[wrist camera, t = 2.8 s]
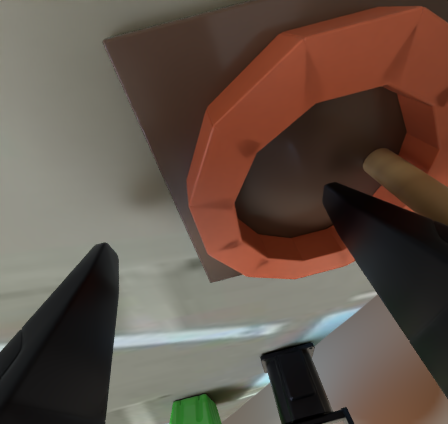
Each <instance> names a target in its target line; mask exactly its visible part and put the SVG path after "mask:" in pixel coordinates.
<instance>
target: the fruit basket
mask: <svg viewBox="0 0 448 424" xmlns="http://www.w3.org/2000/svg"><path fill="white" fill-rule="evenodd" d="M169 424H222V423H221V420H220V417H219V413H218V410H217V407H216V404H215V403H214V402H213V401H212V400H211V399H210V398H209V397H208V396H207V395H206V394H202V395H200V396H194V397H190V398H186V399H183V400H179V401H175V402H174V403H173V407H172V412H171V418H170V423H169Z"/></svg>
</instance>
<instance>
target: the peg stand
mask: <svg viewBox="0 0 448 424" xmlns="http://www.w3.org/2000/svg"><path fill="white" fill-rule="evenodd" d="M392 6H422V7H426V8H427V9H429V10H430V11H432V12H433V13H435V14H436V15H437V16H439V17H440V18H442V19H443V20H445V21H446V22H448V0H250V1H247V2H243V3H239V4H235V5H231V6H228V7H224V8H220V9H216V10H212V11H209V12H205V13H201V14H197V15H193V16H190V17H186V18H182V19H178V20H174V21H170V22H167V23H163V24H159V25H155V26H151V27H148V28H144V29H140V30H136V31H132V32H129V33H125V34H121V35H117V36H113V37H110V38H107V39H104V40H103V45H104V47H105V50H106V52H107V54H108V56H109V58H110V61H111V63H112V65H113V67H114V70H115V72H116V74H117V76H118V78H119V81H120V83H121V85H122V87H123V90H124V92H125V94H126V96H127V98H128V101H129V103H130V105H131V107H132V110H133V112H134V114H135V116H136V118H137V121H138V123H139V125H140V127H141V130H142V132H143V134H144V136H145V139H146V141H147V143H148V145H149V147H150V150H151V152H152V154H153V156H154V159H155V161H156V163H157V165H158V167H159V170H160V172H161V174H162V176H163V179H164V181H165V183H166V185H167V187H168V190H169V192H170V194H171V196H172V199H173V201H174V203H175V205H176V208H177V210H178V212H179V214H180V216H181V219H182V221H183V223H184V225H185V228H186V230H187V232H188V234H189V236H190V239H191V241H192V243H193V245H194V248H195V250H196V252H197V254H198V256H199V259H200V261H201V263H202V265H203V268H204V270H205V272H206V274H207V276H208V279H209V281H210V283H212V282H216V281H220V280H224V279H227V278H231V277H235V276H239V275H243V274H241V273H240V272H238V271H236V270H234V269H233V268H231V267H229V266H227V265H225V264H224V263H222V262H220V261H218V260H216V259H215V258H213V257H211V256H209V255H208V254H207V252H206V249H205V247H204V244H203V242H202V239H201V237H200V234H199V232H198V229H197V226H196V224H195V221H194V219H193V216H192V214H191V211H190V209H189V205H188V194H187V177H188V173H189V170H190V166H191V162H192V159H193V155H194V151H195V148H196V144H197V140H198V137H199V133H200V129H201V126H202V122H203V118H204V115H205V111H206V109H207V107H208V106H209V105H210V104H211V103H212V102H213V101H214V100H215V99H216V98H217V97H218V95H219V94H220V93H221V92H222V91H223V90H224V89H225V88H226V87H227V86H228V85H229V84H230V83H231V82H232V81H233V80H234V79H235V78H236V77H237V76H238V75H239V74H240V73H241V72H242V71H243V70H244V69H245V68H246V67H247V66H248V65H249V64H250V63H251V62H252V61H253V60H254V59H255V58H256V57H257V56H258V55H259V54H260V53H261V52H262V51H263V50H264V49H265V48H266V47H267V46H268V45H269V44H270V43H271V42H272V41H273V40H274V38H275V37H276V36H277V35H278V34H281V33H282V32H284V31H288V30H292V29H296V28H299V27H303V26H307V25H311V24H315V23H318V22H322V21H326V20H330V19H334V18H337V17H341V16H345V15H349V14H353V13H357V12H360V11H364V10H368V9H372V8H376V7H392ZM406 133H407V130H406V127H405V123H404V119H403V115H402V111H401V107H400V104H399V100H398V96H397V93H395V92H392V91H390V90H388V89H386V88H384V87H382V86H380V87H377V88H373V89H369V90H365V91H361V92H358V93H354V94H350V95H346V96H342V97H339V98H335V99H331V100H327V101H323V102H320V103H316V104H315V105H314V106H312V107H311V108H310V109H309V110H308V111H306V112H305V113H304V114H303V115H302V116H300V117H299V118H298V119H297V120H296V121H294V122H293V123H292V124H291V125H290V126H289V127H287V128H286V129H285V130H284V131H283V132H281V133H280V134H279V135H278V136H277V137H275V138H274V139H273V140H272V141H271V142H269V143H268V144H267V145H266V146H265V147H264V148H262V149H261V150H260V151H259V152H258V153H257V154H256V156H255V158H254V161H253V163H252V165H251V167H250V170H249V172H248V174H247V176H246V178H245V181H244V183H243V185H242V187H241V189H240V192H239V194H238V196H237V198H236V201H235V208H236V213H237V217H238V219H239V220H241V221H242V222H243V223H244V224H246V225H247V226H248V227H250V228H251V229H252V230H253V231H255V232H256V233H257V234H260V235H268V236H277V237H285V238H293V237H297V236H301V235H305V234H309V233H312V232H316V231H320V230H324V229H327V228H329V227H331V226H332V225H333V223H332V222H331V220H330V218H329V216H328V214H327V212H326V210H325V208H324V206H323V203H322V197H323V190H324V186H325V185H326V184H328V183H332V182H337V183H340V184H343V185H345V186H348V187H350V188H353V189H355V190H358V191H360V192H363V193H366V194H368V195H371V196H372V195H373V194H374V193H375V192H376V191H377V190H378V189H379V187H380V186H381V185H382V186H383V187H385V188H386V189H387V190H388V191H389V192H391V193H392V194H393V195H394V196H395V197H397V198H398V199H399V200H400V201H401V202H403V203H404V204H405V205H406V206H408V207H409V208H410V209H411V210H412V211H414V212H415V213H417V214H419V215H422V216H425V217H427V218H430V219H432V220H433V221H437V222H440V223H443V224H445V225H448V187H447V186H445V185H444V184H442V183H440V182H439V181H437V180H436V179H434V178H433V177H431V176H430V175H428V174H426V173H425V172H423V171H422V170H420V169H419V168H417V167H415V166H414V165H412V164H411V163H409V162H408V161H406V160H404V159H403V158H401V157H400V156H398V155H399V152H400V149H401V146H402V144H403V141H404V138H405V136H406Z"/></svg>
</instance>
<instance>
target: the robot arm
mask: <svg viewBox="0 0 448 424" xmlns="http://www.w3.org/2000/svg"><path fill="white" fill-rule="evenodd" d="M322 203H323V206H324V208H325V210H326V212H327V214H328V216H329V218H330V220H331V222H332V223H333V225H334V227H335V229H336V231H337V233H338V235H339V237H340V238H341V240H342V241H343V243H344V244H345V246H346V247H347V249H348V250H349V252H350V253H351V255H352V256H353V258H354V259H355V261H356V262H357V264H358V265H359V267H360V268H361V270H362V271H363V273H364V274H365V276H366V277H367V279H368V280H369V282H370V283H371V285H372V286H373V288H374V289H375V291H376V292H377V294H378V295H379V297H380V298H381V300H382V301H383V302H384V304H385V306H386V307H387V309H388V310H389V311H390V313H391V314H392V316H393V317H394V319H395V320H396V322H397V323H398V325H399V327H400V328H401V329H402V331H403V332H404V334H405V335H406V337H407V338H408V340H410V343H411V345H412V346H413V348H414V349H415V351H416V352H417V354H418V355H419V357H420V358H421V360H422V361H423V363H424V364H425V365H426V367H427V369H428V370H429V372H430V373H431V375H432V376H433V378H434V379H435V380H436V382H437V383H438V385H439V387H440V388H441V389H442V391H443V393H444V394H445V396H446V397H447V399H448V225H445V224H443V223H440V222H437V221H433V220H432V219H430V218H427V217H425V216H422V215H419V214H417V213H414V212H412V211H409V210H407V209H404V208H401V207H399V206H396V205H394V204H391V203H389V202H386V201H384V200H381V199H378V198H376V197H373V196H371V195H368V194H366V193H363V192H360V191H358V190H355V189H353V188H350V187H348V186H345V185H343V184H340V183H337V182H332V183H328V184H326V185H325V186H324V190H323V197H322ZM118 297H119V259H118V255H117V254H116V252H115V251H114V250H113V249H112V248H111V247H110V245H109V244H108V243H101V244H97V245H95V246H94V247H93V248H92V249H91V250H90V251H89V253H88V254H87V255H86V256H85V257H84V258H83V259H82V260H81V262H80V263H79V264H78V265H77V266H76V267H75V268H74V270H73V271H72V272H71V273H70V274H69V275H68V276H67V277H66V279H65V280H64V281H63V282H62V283H61V284H60V285H59V286H58V288H57V289H56V290H55V291H54V292H53V293H52V294H51V296H50V297H49V298H48V299H47V300H46V301H45V302H44V303H43V305H42V306H41V307H40V308H39V309H38V310H37V311H36V312H35V314H34V315H33V316H32V317H31V318H30V319H29V320H28V322H27V323H26V324H25V325H24V326H23V327H22V330H20V331H19V332H18V333H17V334H16V335H15V336H14V337H13V338H12V340H11V341H10V342H9V343H8V344H7V345H6V346H5V347H4V348H3V350H2V351H1V352H0V424H105V420H106V411H107V401H108V392H109V382H110V373H111V363H112V354H113V345H114V335H115V326H116V316H117V307H118ZM314 348H315V347H314V345H313V343H308V344H304V345H301V346H297V347H293V348H289V349H285V350H282V351H278V352H274V353H270V354H266V355H263V356H261V357H260V358H261V362H262V365H263V369H264V372H265V373H268V375H269V379H270V383H271V386H272V390H273V394H274V398H275V401H276V405H277V408H278V413H279V416H280V420H281V424H332V423H336V422H339V421H343V422H344V424H354V422H353V420H352V418H351V416H350V414H349V412H348V409H347V408H346V407H345V408H341V410H339V411H335V412H333V410H332V408H331V406H330V403H329V400H328V398H327V396H326V393H325V391H324V388H323V386H322V383H321V381H320V378H319V376H318V373H317V371H316V368H315V366H314V363H313V361H312V356H313V351H314Z"/></svg>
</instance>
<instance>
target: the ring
mask: <svg viewBox="0 0 448 424" xmlns="http://www.w3.org/2000/svg"><path fill="white" fill-rule="evenodd" d="M380 86H382V87H384V88H386V89H388V90H390V91H392V92H395V93H397V96H398V100H399V104H400V107H401V111H402V115H403V119H404V123H405V127H406V130H407V133H406V136H405V138H404V141H403V144H402V146H401V149H400V152H399V155H398V156H400V157H401V158H403V159H404V160H406V161H408V162H409V163H411V164H412V165H414V166H415V167H417V168H419V169H420V170H422V171H423V172H425V173H426V174H428V175H430V176H431V177H433V178H434V179H436V180H437V181H439V182H440V183H442V184H444V185H445V186H447V187H448V22H446V21H445V20H443V19H442V18H440V17H439V16H437V15H436V14H435V13H433V12H432V11H430V10H429V9H427V8H426V7H422V6H392V7H376V8H372V9H368V10H364V11H360V12H357V13H353V14H349V15H345V16H341V17H337V18H334V19H330V20H326V21H322V22H318V23H315V24H311V25H307V26H303V27H299V28H296V29H292V30H288V31H284V32H282V33H281V34H278V35H277V36H276V37H275V38H274V40H273V41H272V42H271V43H270V44H269V45H268V46H267V47H266V48H265V49H264V50H263V51H262V52H261V53H260V54H259V55H258V56H257V57H256V58H255V59H254V60H253V61H252V62H251V63H250V64H249V65H248V66H247V67H246V68H245V69H244V70H243V71H242V72H241V73H240V74H239V75H238V76H237V77H236V78H235V79H234V80H233V81H232V82H231V83H230V84H229V85H228V86H227V87H226V88H225V89H224V90H223V91H222V92H221V93H220V94H219V95H218V97H217V98H216V99H215V100H214V101H213V102H212V103H211V104H210V105H209V106H208V107H207V109H206V111H205V115H204V118H203V122H202V126H201V129H200V133H199V137H198V140H197V144H196V148H195V151H194V155H193V159H192V162H191V166H190V170H189V173H188V177H187V194H188V205H189V209H190V211H191V214H192V216H193V219H194V221H195V224H196V226H197V229H198V232H199V234H200V237H201V239H202V242H203V244H204V247H205V249H206V252H207V254H208V255H209V256H211V257H213V258H215V259H216V260H218V261H220V262H222V263H224V264H225V265H227V266H229V267H231V268H233V269H234V270H236V271H238V272H240V273H241V274H243V275H245V276H248V277H258V278H280V279H298V278H302V277H306V276H309V275H313V274H317V273H321V272H325V271H328V270H332V269H336V268H340V267H344V266H346V265H348V264H350V263H352V262H354V261H355V259H354V258H353V256H352V255H351V253H350V252H349V250H348V249H347V247H346V246H345V244H344V243H343V241H342V240H341V238H340V237H339V235H338V233H337V231H336V229H335V227H334V225H332V226H331V227H329V228H327V229H324V230H320V231H316V232H312V233H309V234H305V235H301V236H297V237H293V238H285V237H277V236H268V235H260V234H257V233H256V232H255V231H253V230H252V229H251V228H250V227H248V226H247V225H246V224H244V223H243V222H242V221H241V220H239V219H238V217H237V213H236V208H235V201H236V198H237V196H238V194H239V192H240V189H241V187H242V185H243V183H244V181H245V178H246V176H247V174H248V172H249V170H250V167H251V165H252V163H253V161H254V158H255V156H256V154H257V153H258V152H259V151H260V150H261V149H262V148H264V147H265V146H266V145H267V144H268V143H269V142H271V141H272V140H273V139H274V138H275V137H277V136H278V135H279V134H280V133H281V132H283V131H284V130H285V129H286V128H287V127H289V126H290V125H291V124H292V123H293V122H294V121H296V120H297V119H298V118H299V117H300V116H302V115H303V114H304V113H305V112H306V111H308V110H309V109H310V108H311V107H312V106H314V105H315V104H316V103H320V102H323V101H327V100H331V99H335V98H339V97H342V96H346V95H350V94H354V93H358V92H361V91H365V90H369V89H373V88H377V87H380ZM372 196H373V197H376V198H378V199H381V200H384V201H386V202H389V203H391V204H394V205H396V206H399V207H401V208H404V209H407V210H409V211H412V210H411V209H410V208H409V207H408V206H406V205H405V204H404V203H403V202H401V201H400V200H399V199H398V198H397V197H395V196H394V195H393V194H392V193H391V192H389V191H388V190H387V189H386V188H385V187H383V186H382V185H381V186H380V187H379V189H378V190H377V191H376V192H375V193H374V194H373V195H372ZM412 212H414V211H412ZM414 213H415V212H414Z"/></svg>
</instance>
